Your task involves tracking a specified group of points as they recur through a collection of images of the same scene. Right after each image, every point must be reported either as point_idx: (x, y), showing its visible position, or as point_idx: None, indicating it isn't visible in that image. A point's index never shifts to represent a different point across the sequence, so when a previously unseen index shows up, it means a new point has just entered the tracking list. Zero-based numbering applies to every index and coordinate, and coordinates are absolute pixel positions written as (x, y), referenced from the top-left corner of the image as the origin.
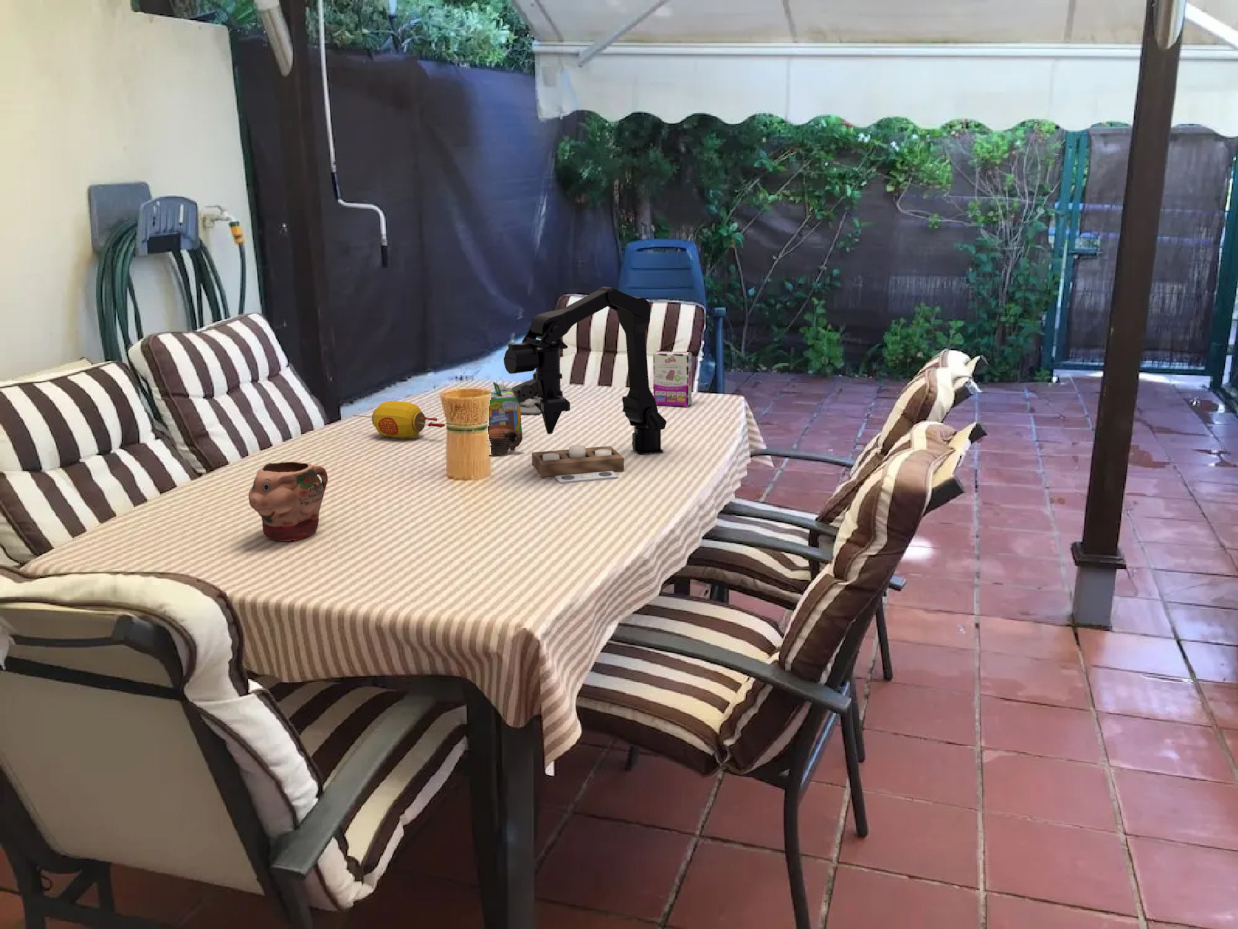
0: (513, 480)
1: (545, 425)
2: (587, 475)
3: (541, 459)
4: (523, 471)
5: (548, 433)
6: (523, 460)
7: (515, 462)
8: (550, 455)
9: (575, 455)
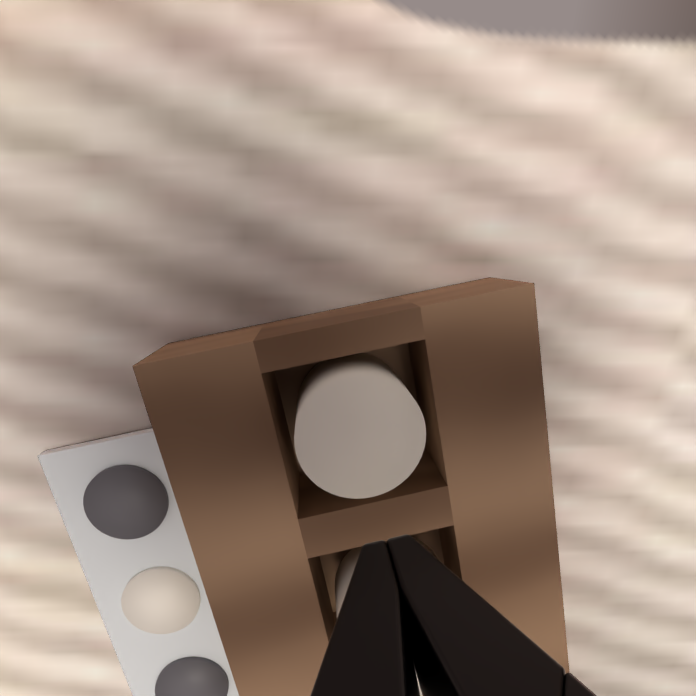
0: (120, 141)
1: (420, 612)
2: (158, 606)
3: (304, 361)
4: (345, 217)
5: (363, 556)
6: (613, 219)
7: (577, 161)
8: (363, 435)
9: (339, 604)
